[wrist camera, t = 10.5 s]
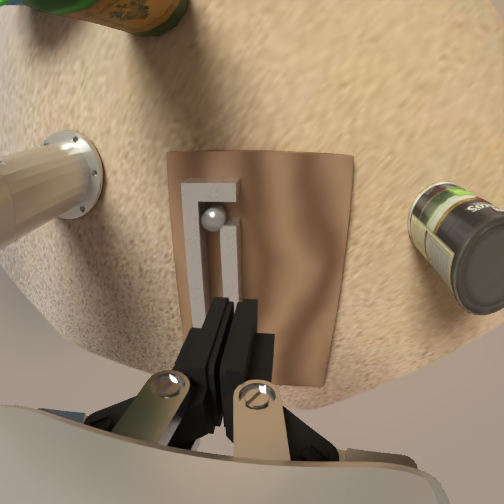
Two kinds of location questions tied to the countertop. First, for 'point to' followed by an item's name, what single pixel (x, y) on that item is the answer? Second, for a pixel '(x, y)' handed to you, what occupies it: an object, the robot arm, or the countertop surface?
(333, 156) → the walnut board
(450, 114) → the countertop surface
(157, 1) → the bottle
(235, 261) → the tongs arm
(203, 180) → the tongs fixed arm
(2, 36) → the countertop surface
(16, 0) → the snack cup
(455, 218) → the coffee can
